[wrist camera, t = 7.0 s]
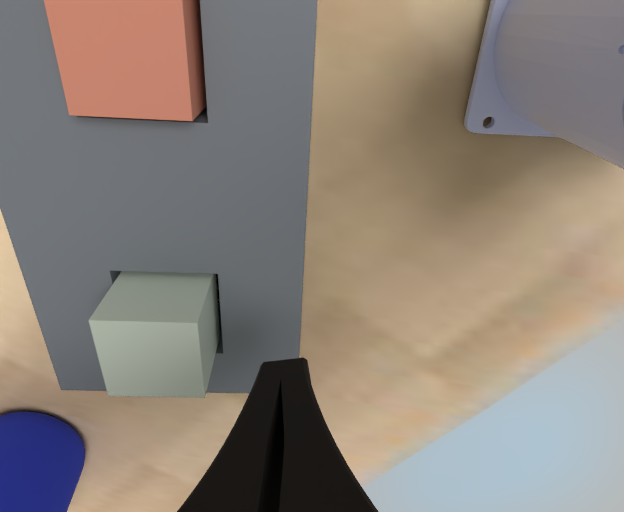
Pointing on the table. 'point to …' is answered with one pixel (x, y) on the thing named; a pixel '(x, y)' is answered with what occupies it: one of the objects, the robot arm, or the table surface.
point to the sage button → (157, 334)
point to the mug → (38, 463)
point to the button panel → (165, 186)
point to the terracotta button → (130, 57)
